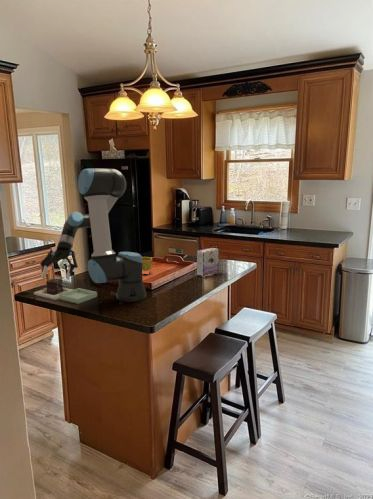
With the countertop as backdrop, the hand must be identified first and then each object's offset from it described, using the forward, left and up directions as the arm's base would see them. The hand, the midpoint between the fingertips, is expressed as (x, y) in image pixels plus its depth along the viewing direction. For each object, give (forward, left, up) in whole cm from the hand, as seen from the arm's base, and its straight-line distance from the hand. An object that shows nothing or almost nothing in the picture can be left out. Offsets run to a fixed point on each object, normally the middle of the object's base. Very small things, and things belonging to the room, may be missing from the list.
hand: (55, 278), depth 199 cm
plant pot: (-18, -54, -8) cm, 57 cm away
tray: (-18, +1, -8) cm, 19 cm away
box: (-2, +2, -8) cm, 8 cm away
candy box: (-54, -71, -8) cm, 89 cm away
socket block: (-2, +2, -8) cm, 8 cm away
